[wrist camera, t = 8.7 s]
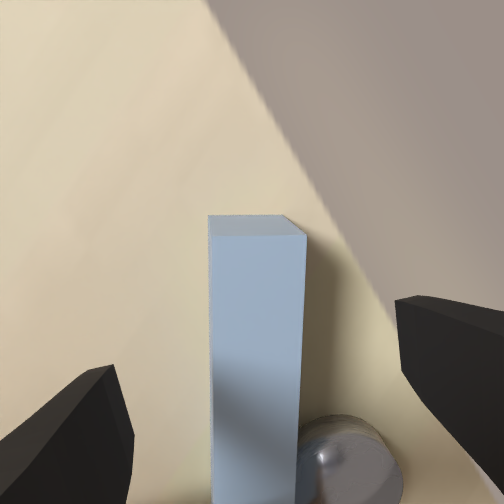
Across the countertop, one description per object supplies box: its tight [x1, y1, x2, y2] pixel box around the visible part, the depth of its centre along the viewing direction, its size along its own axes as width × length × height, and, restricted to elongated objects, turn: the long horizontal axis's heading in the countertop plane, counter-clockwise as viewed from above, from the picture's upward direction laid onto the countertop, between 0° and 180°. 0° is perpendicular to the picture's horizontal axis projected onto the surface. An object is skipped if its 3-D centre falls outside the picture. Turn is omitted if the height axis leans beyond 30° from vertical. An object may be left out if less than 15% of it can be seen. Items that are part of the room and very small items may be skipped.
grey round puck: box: [295, 415, 403, 504], centre depth 18 cm, size 5×5×2 cm
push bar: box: [208, 215, 307, 504], centre depth 16 cm, size 3×14×4 cm, turn 179°
